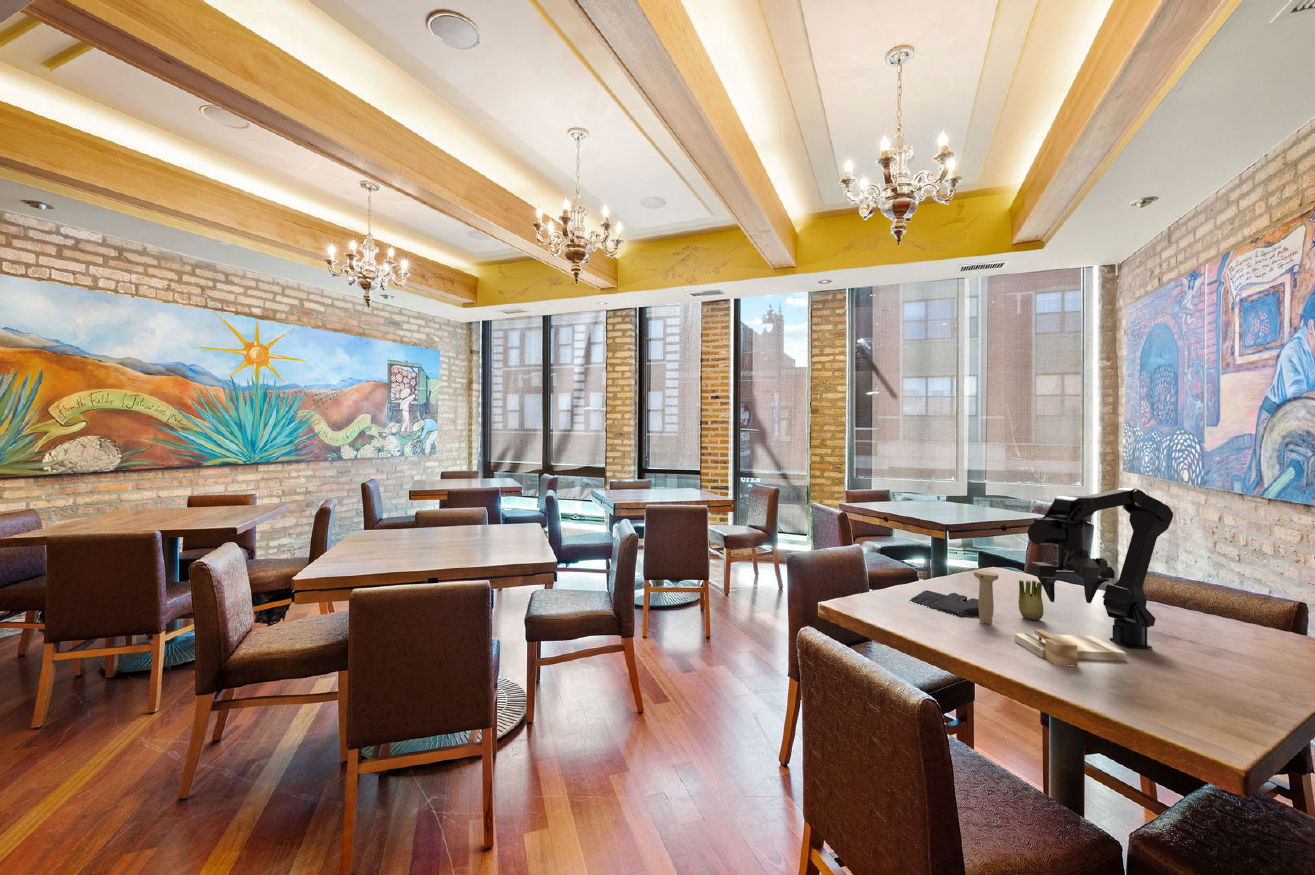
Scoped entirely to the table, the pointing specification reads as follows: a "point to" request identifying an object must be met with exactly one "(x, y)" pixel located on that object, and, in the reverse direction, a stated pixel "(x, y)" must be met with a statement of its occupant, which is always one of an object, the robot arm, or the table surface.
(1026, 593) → the fennel bulb
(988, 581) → the handle
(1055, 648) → the marking gauge
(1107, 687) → the table surface
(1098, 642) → the ash plank
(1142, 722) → the table surface
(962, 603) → the dark slate chunk
